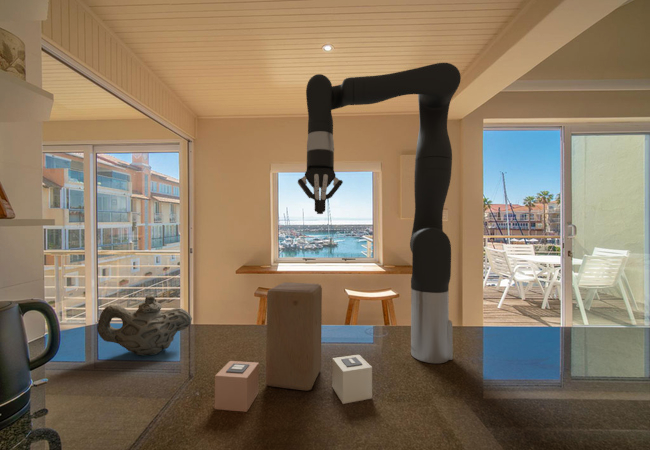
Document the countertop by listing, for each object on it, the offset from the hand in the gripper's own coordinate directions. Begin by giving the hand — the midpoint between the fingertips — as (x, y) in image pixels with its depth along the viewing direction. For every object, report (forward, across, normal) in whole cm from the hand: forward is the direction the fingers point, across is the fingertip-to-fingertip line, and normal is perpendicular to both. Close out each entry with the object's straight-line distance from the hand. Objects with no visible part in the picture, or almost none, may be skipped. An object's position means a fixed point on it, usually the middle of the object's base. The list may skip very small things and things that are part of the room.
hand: (319, 213), depth 80 cm
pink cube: (+37, +18, +22) cm, 47 cm away
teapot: (+37, +45, -3) cm, 59 cm away
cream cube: (+37, -4, +22) cm, 43 cm away
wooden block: (+37, +7, +15) cm, 41 cm away
